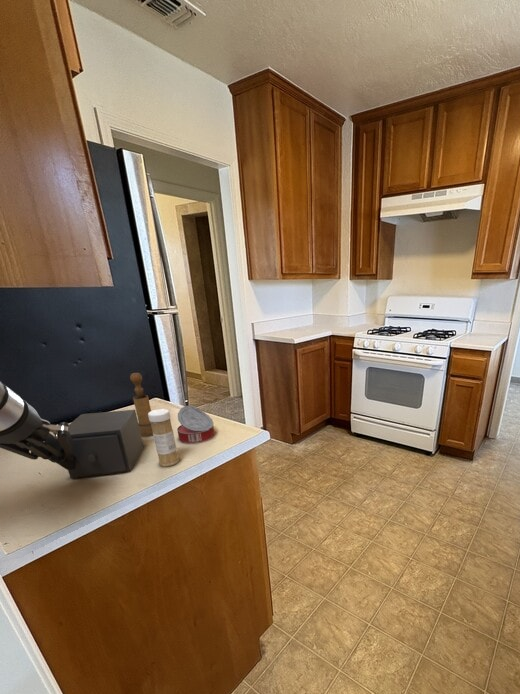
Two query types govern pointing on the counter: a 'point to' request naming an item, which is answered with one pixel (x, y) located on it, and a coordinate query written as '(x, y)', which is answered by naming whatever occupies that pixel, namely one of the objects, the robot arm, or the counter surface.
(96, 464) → the pull-out drawer box
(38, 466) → the counter surface
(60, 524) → the counter surface
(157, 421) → the sprinkles bottle
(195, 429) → the canned food
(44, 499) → the counter surface
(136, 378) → the mortar and pestle
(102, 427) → the small drawer cabinet
